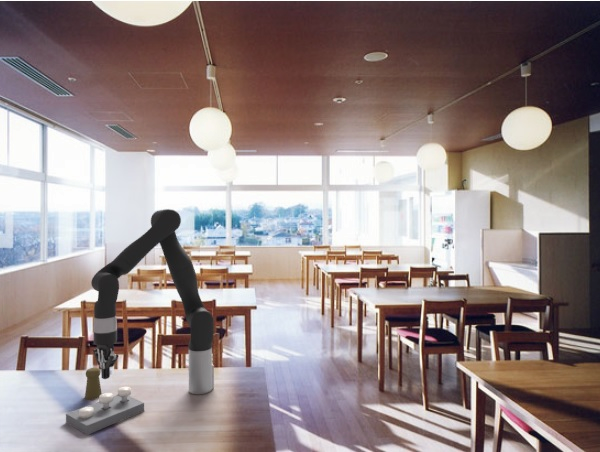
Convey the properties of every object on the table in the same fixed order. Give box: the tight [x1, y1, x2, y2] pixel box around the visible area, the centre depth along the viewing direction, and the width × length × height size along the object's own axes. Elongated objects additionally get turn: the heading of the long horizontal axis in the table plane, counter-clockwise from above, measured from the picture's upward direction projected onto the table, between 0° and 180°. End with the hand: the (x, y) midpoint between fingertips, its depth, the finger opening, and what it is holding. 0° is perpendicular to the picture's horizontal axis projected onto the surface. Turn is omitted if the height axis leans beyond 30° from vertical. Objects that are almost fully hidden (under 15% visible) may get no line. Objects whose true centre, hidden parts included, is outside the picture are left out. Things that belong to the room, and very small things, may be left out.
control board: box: [65, 394, 145, 436], centre depth 152 cm, size 21×14×3 cm, turn 144°
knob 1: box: [79, 406, 94, 419], centre depth 146 cm, size 4×4×5 cm
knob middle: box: [98, 392, 114, 410], centre depth 152 cm, size 4×4×5 cm
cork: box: [84, 367, 103, 401], centre depth 169 cm, size 6×6×11 cm
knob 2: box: [117, 386, 132, 403], centre depth 158 cm, size 4×4×5 cm
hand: (105, 378), depth 152 cm, fingers closed
